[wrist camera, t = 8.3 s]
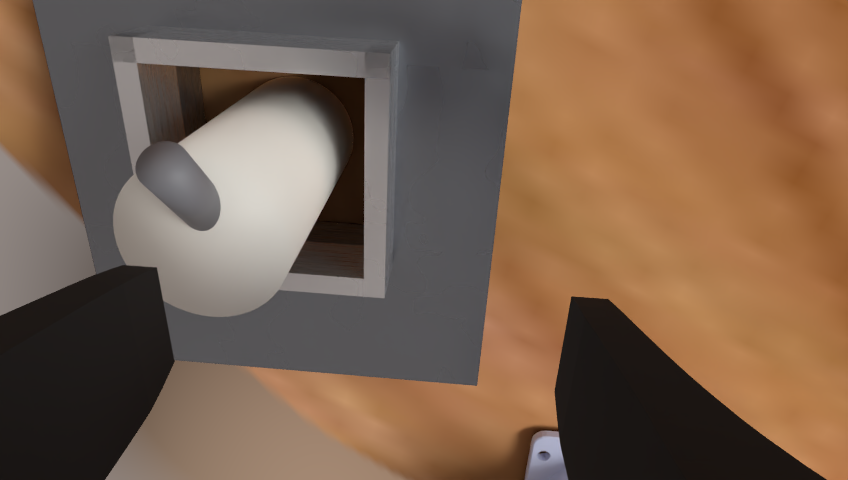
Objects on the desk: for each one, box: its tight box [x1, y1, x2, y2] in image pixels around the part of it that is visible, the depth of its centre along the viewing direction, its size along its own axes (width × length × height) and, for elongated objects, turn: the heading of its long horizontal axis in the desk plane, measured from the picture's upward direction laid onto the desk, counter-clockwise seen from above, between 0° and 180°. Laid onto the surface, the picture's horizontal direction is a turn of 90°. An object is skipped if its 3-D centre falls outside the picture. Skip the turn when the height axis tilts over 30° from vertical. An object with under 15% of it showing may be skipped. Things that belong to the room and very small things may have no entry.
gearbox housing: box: [33, 0, 522, 386], centre depth 17 cm, size 18×13×4 cm
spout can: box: [113, 76, 354, 317], centre depth 14 cm, size 4×4×9 cm
